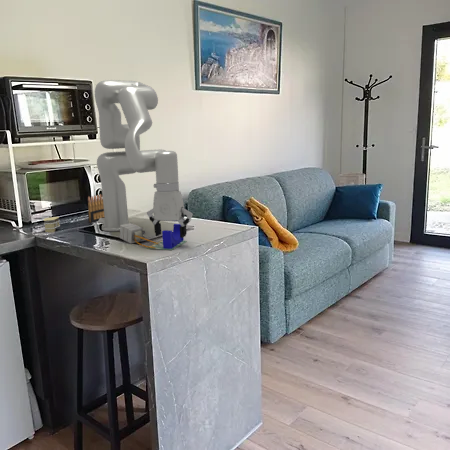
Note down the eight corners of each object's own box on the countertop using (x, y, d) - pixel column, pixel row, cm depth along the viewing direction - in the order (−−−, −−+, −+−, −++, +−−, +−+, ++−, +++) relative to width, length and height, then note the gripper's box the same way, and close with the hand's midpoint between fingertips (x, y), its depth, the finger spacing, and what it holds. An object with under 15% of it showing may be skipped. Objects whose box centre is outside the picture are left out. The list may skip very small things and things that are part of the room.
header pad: (146, 248, 157) (146, 247, 157) (163, 240, 168) (163, 239, 168) (171, 250, 154) (171, 249, 153) (186, 241, 164) (186, 240, 164)
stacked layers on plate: (60, 233, 188) (59, 220, 187) (38, 234, 187) (36, 221, 186) (65, 228, 198) (64, 215, 196) (44, 229, 196) (42, 217, 195)
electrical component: (172, 254, 158) (173, 241, 157) (159, 258, 154) (159, 244, 152) (130, 234, 173) (130, 221, 171) (116, 237, 169) (116, 224, 167)
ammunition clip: (105, 218, 215) (103, 193, 212) (108, 218, 214) (106, 193, 211) (88, 222, 206) (85, 196, 203) (91, 223, 205) (88, 196, 202)
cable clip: (172, 239, 167) (171, 223, 165) (183, 240, 166) (182, 223, 164) (159, 248, 155) (158, 231, 154) (171, 248, 154) (170, 231, 153)
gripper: (140, 188, 156) (143, 237, 159) (185, 189, 149) (188, 240, 153) (151, 185, 162) (154, 232, 166) (195, 186, 156) (197, 235, 160)
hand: (170, 236), depth 160 cm, fingers open, 9 cm apart
